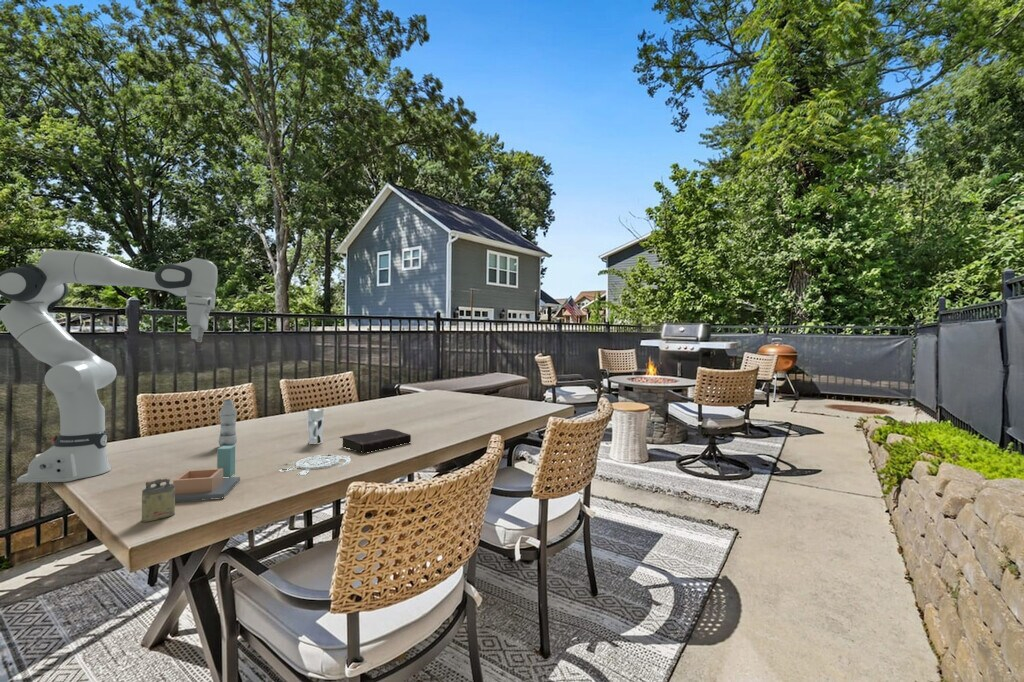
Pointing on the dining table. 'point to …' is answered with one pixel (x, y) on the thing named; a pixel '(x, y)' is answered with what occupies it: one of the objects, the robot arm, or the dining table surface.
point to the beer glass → (315, 425)
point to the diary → (375, 440)
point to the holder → (203, 485)
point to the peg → (226, 460)
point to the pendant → (318, 463)
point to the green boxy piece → (158, 500)
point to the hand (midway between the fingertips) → (196, 340)
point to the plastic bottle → (228, 424)
